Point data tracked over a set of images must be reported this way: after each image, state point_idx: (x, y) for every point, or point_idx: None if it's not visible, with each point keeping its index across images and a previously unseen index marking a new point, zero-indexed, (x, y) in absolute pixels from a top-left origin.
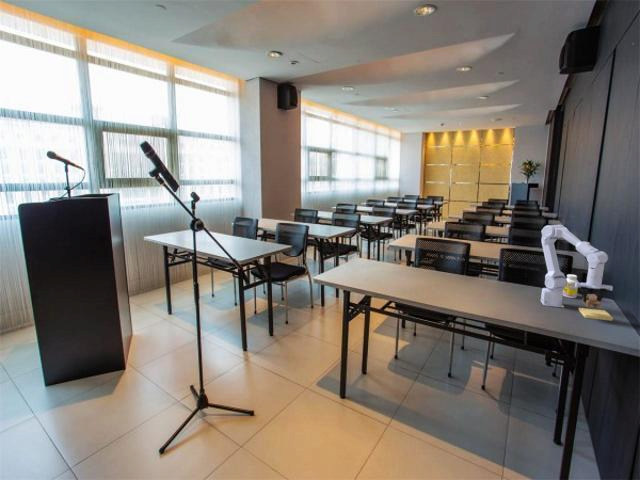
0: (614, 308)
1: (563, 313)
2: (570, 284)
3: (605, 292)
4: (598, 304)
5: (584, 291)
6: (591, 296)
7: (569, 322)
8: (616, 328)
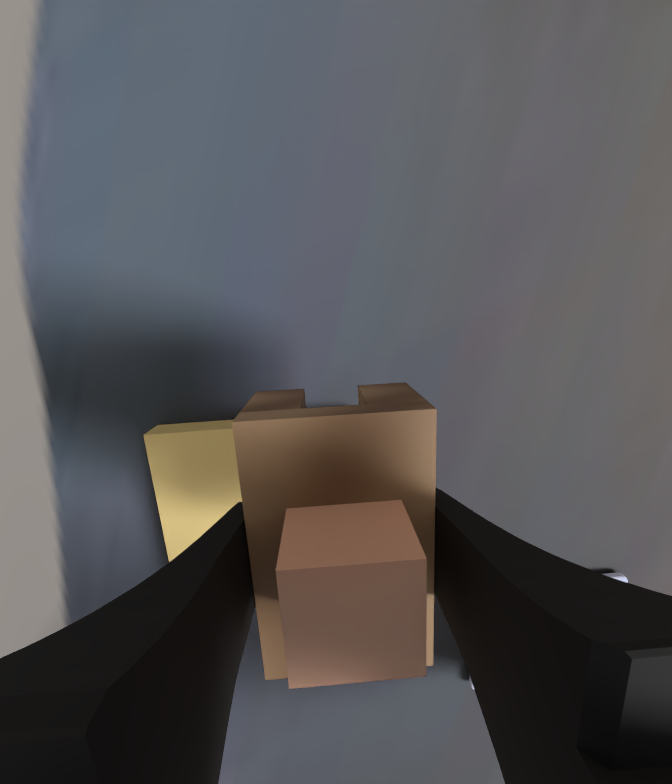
0: None
1: (518, 445)
2: None
3: None
4: (272, 409)
5: (652, 607)
6: (381, 552)
7: (543, 214)
8: (160, 226)
